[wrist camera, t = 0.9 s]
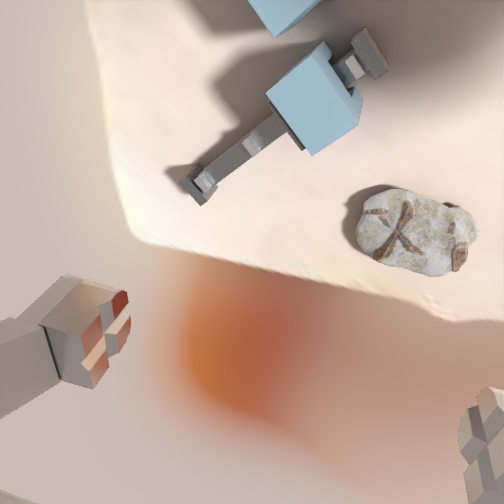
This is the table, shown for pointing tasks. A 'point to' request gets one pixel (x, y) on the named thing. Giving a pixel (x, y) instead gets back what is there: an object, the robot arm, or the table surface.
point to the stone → (415, 232)
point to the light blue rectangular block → (314, 102)
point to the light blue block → (282, 13)
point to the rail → (270, 129)
